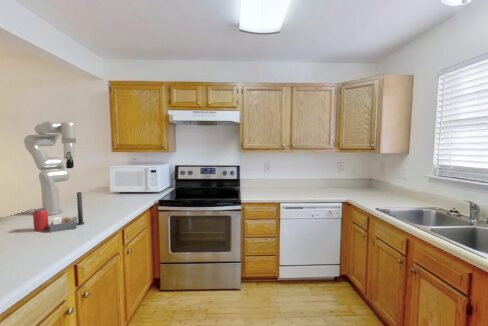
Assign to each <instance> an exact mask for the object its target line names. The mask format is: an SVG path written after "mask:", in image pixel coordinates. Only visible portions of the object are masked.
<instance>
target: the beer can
mask: <svg viewBox="0 0 488 326" xmlns="http://www.w3.org/2000/svg"><path fill="white" fill-rule="evenodd" d="M32 216H33V217H32V218H33V220H32V221H33V231H34V232H44V231H46V230H48V229H50V225H49V215H48V212H47V210H46V208H43V207H42V208H37V209H34V210H33V213H32Z"/></svg>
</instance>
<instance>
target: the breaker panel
mask: <svg viewBox="0 0 488 326" xmlns="http://www.w3.org/2000/svg"><path fill="white" fill-rule="evenodd" d="M77 223H78V215H75V216H66V217H61V223H60V224H55V225H53V219H52V221H51V222H50V225H49V232H50V233H54V232H61V231H68V230H75V229H77V226H78V225H77Z"/></svg>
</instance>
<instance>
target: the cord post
mask: <svg viewBox="0 0 488 326" xmlns="http://www.w3.org/2000/svg"><path fill="white" fill-rule="evenodd" d="M82 195H83V194H82V191H78V192H76V203H77V204H76V205H77V226H82V225H85V221H84V216H83V215H84V214H83V196H82Z"/></svg>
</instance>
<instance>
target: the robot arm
mask: <svg viewBox="0 0 488 326" xmlns="http://www.w3.org/2000/svg"><path fill="white" fill-rule="evenodd" d="M34 132H35V133H36V134H29V135H26V136H24V139H23V140H24V141H23V143H24V146H25V149H26V150H27V151H28V153H29V154H30V155H31V156H32V159H33V161H34V163H35V164H34V165H35V166H36V168H37V169H38V170H39V171H40V172H39V173H38V180H39V183H40V188H41V191H40V192H41V201H42V202H41V203H42V204H41V205H42V206H41V207H42V208H46V210H47V212H48V216H53V215H54V216H55V215H59V214H61V213H63V209H60V192H59V186H57V184H56V183H60V182H67V181H68V180H69V179H70V172H69V169H73V168H74V163H75V162H74V159H75V145H76V144H77V138H76V137H77V136H76V124H75V123H74V122H70V121H62V122H61V121H60V122H59V121H43V122H41V123H38V124H36V125H35V126H34ZM60 136H61V137H60ZM59 138H61V144H63V158H61V156H60V157H59V156H49V155H48V153H47V151H45V150H44V149H43V148H42V147H54V145H56V143H57V141H58V140H59ZM63 159H64V160H66V163H65V162H64V160H63Z"/></svg>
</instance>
